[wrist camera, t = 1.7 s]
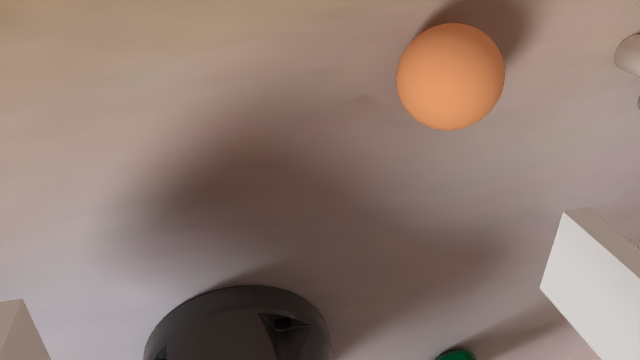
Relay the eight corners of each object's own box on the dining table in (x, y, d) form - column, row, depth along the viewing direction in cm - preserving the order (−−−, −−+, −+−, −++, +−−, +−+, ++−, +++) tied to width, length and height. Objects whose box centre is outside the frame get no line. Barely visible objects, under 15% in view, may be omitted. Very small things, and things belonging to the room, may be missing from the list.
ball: (474, 90, 32) (526, 129, 27) (389, 117, 32) (426, 161, 27) (470, -1, 29) (528, 24, 24) (374, 28, 28) (413, 60, 23)
